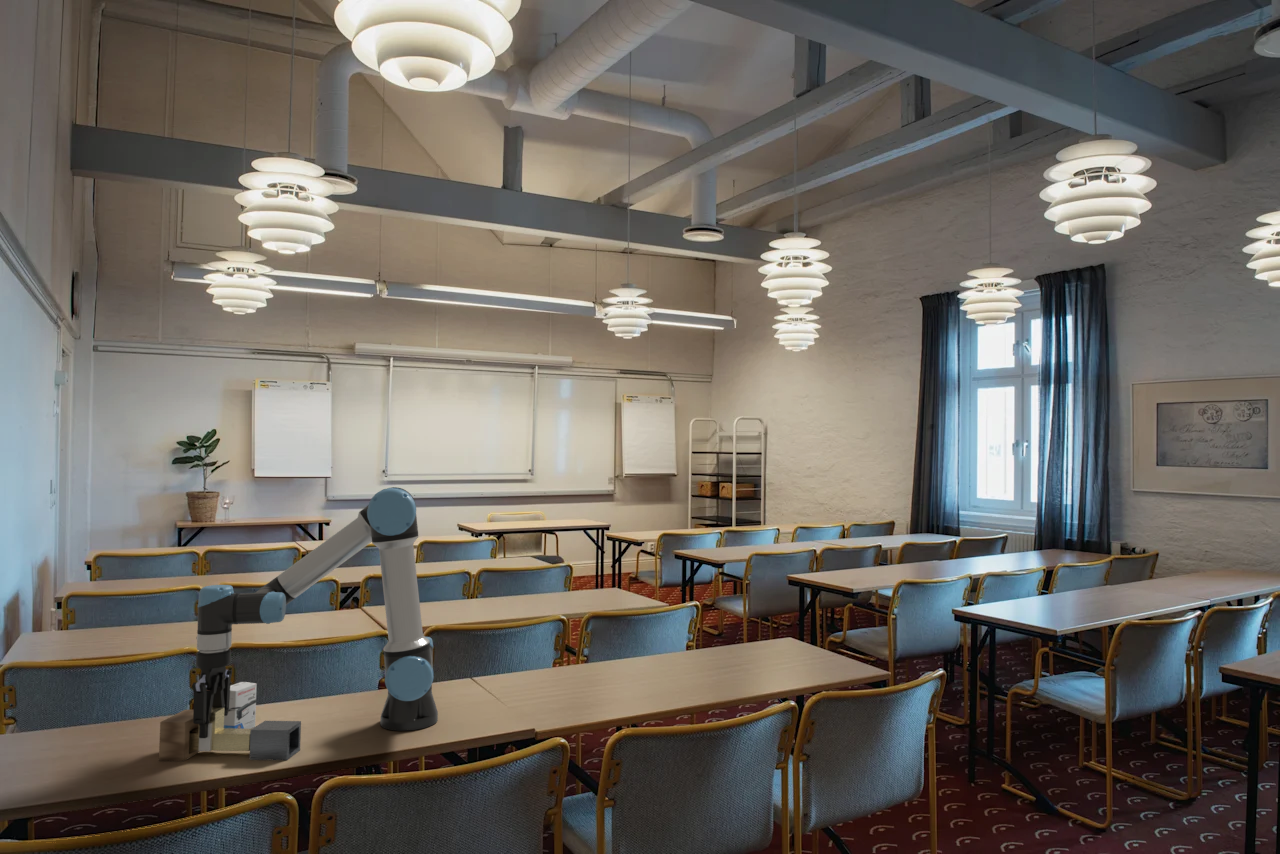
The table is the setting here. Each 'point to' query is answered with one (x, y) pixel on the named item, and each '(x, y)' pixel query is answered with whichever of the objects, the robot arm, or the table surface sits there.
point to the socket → (176, 737)
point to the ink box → (241, 706)
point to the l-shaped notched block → (222, 735)
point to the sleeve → (275, 740)
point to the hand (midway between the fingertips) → (210, 747)
